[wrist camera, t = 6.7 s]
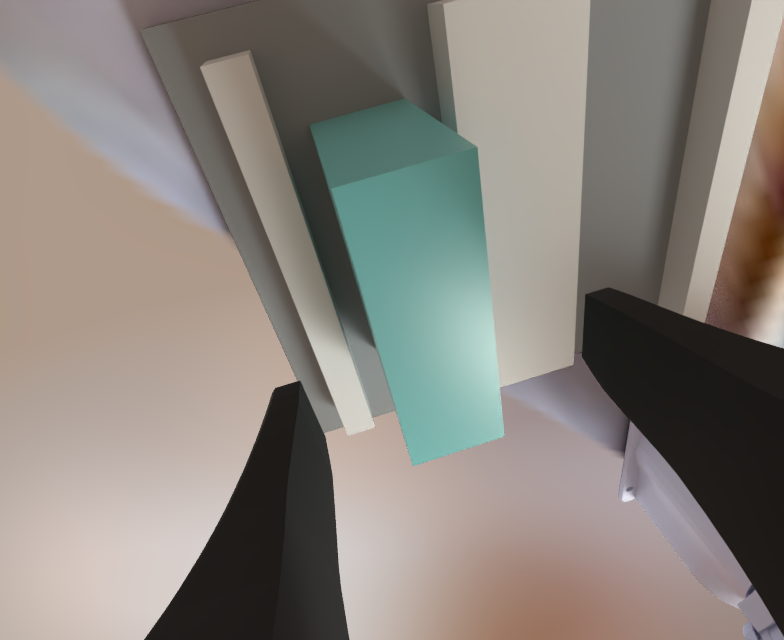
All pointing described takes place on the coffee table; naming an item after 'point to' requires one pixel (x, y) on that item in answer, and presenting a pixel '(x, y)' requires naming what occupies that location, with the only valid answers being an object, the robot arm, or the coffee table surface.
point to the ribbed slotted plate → (495, 152)
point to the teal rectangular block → (419, 268)
